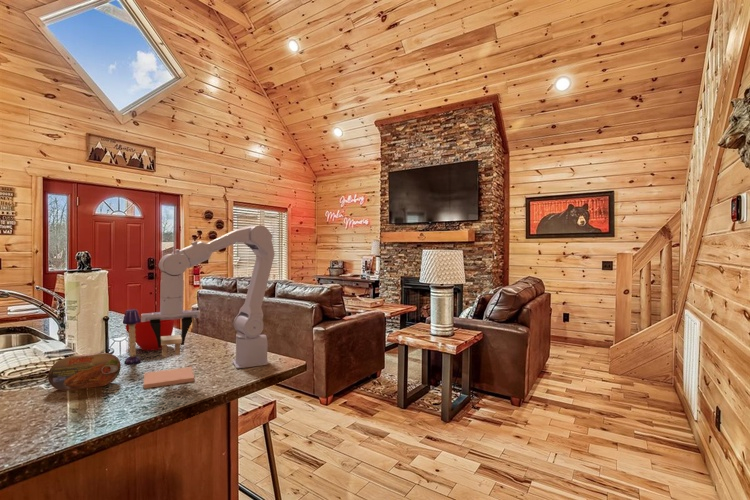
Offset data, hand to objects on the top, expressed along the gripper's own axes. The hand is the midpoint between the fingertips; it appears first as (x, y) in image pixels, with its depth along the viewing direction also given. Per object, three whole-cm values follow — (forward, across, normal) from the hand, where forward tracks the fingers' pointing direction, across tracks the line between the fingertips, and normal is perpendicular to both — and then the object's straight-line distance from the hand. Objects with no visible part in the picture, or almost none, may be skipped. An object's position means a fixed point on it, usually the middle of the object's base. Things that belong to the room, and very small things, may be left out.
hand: (171, 345), depth 105 cm
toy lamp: (+10, +10, -20) cm, 25 cm away
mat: (+9, 0, 0) cm, 9 cm away
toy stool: (+2, 0, 0) cm, 2 cm away
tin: (+10, +19, -4) cm, 22 cm away
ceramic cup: (+10, +5, -37) cm, 39 cm away
